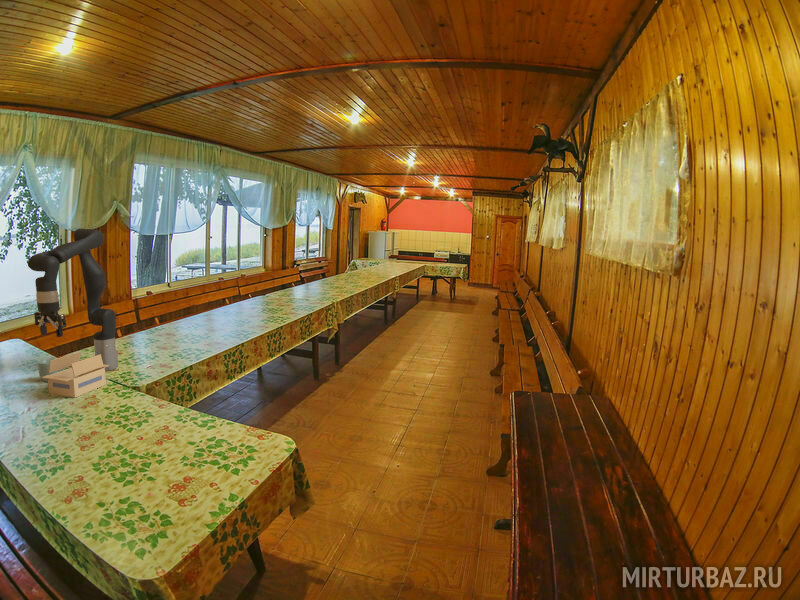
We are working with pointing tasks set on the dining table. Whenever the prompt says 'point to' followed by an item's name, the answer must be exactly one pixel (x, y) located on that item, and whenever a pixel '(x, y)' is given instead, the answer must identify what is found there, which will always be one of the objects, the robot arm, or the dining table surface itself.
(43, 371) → the cup
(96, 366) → the flap
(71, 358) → the flap
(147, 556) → the dining table surface
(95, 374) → the carton
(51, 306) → the robot arm
